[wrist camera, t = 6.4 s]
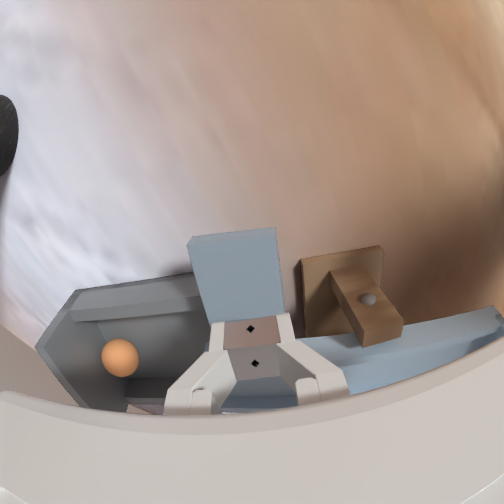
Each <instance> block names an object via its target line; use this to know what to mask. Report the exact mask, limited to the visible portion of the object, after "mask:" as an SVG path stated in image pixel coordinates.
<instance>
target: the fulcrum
mask: <svg viewBox="0 0 504 504" xmlns="http://www.w3.org/2000/svg"><path fill="white" fill-rule="evenodd" d="M383 257H384V250H383V249H382V248H381V247H380V246H373V247H368V248H362V249H357V250H351V251H345V252H340V253H334V254H328V255H322V256H317V257H311V258H305V259H301V272H302V286H303V301H304V318H305V338H312V337H322V336H332V335H341V334H350V333H355V335H356V337H357V339H358V341H359V343H360V345H361V347H362V348H365V347H368V346H372V345H376V344H379V343H383V342H386V341H389V340H393V339H396V338H399V337H401V334H402V330H403V325H404V319H403V318H402V317H401V315H400V314H399V312H398V311H397V310H396V308H395V307H394V306H393V304H392V303H391V302H390V300H389V299H388V298H387V297H386V295H385V294H384V293H383V291H382V290H381V280H382V269H383Z"/></svg>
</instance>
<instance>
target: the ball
mask: <svg viewBox="0 0 504 504" xmlns="http://www.w3.org/2000/svg"><path fill="white" fill-rule="evenodd" d="M101 359H102V363H103V365H104V367H105V368H106V370H107V371H108V372H110V373H111V374H113V375H115V376H118V377H126V376H129V375H131V374H132V373H134V372H135V370H136V369H137V367H138V364H139V354H138V351H137V349H136V348H135V346H134V345H133V344H132V343H131V342H129V341H127V340H125V339H121V338H116V339H112V340H110V341H108V342H107V343H106V344H105V345H104V347H103V349H102V353H101Z"/></svg>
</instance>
